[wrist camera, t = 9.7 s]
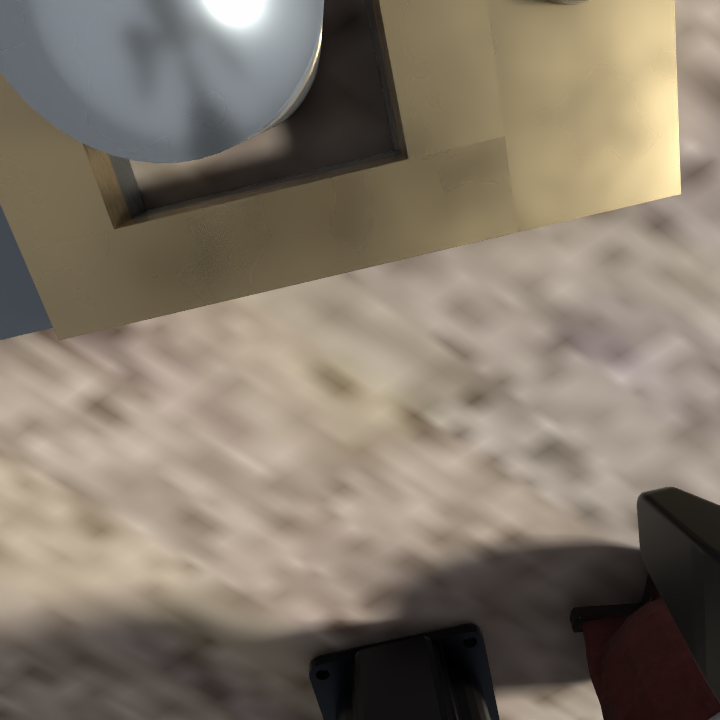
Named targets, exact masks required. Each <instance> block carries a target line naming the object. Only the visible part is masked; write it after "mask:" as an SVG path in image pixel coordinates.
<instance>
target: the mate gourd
mask: <svg viewBox="0 0 720 720" xmlns="http://www.w3.org/2000/svg"><path fill="white" fill-rule="evenodd" d="M570 621H571V623H572V628H573V631H574V632H583V633H584V638H585V644H586V652H587V660H588V666H589V671H590V677H591V680H592V683H593V685H594V688H595V691H596V694H597V696H598V699H599V702H600V705H601V709H602V714H603V718H604V720H720V702H719V701H718V699H717V697H716V696H715V694H714V693H713V691H712V690H711V688H710V686H709V685H708V683H707V681H706V680H705V678H704V676H703V674H702V672H701V671H700V669H699V667H698V665H697V663H696V662H695V660H694V658H693V656H692V654H691V652H690V650H689V648H688V646H687V644H686V642H685V641H684V639H683V637H682V635H681V633H680V631H679V629H678V627H677V625H676V623H675V622H674V620H673V618H672V616H671V614H670V612H669V610H668V608H667V606H666V604H665V602H664V601H663V599H662V597H661V595H660V593H659V591H658V589H657V587H656V585H655V583H654V582H653V580H652V578H651V576H650V574H649V573H648V578H647V583H646V588H645V592H644V596H643V600H642V601H640V602H639V603H637V604H626V605H608V606H589V607H578V608H574V609H573V610H572V611H571V618H570Z"/></svg>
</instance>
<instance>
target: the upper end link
mask: <svg viewBox="0 0 720 720" xmlns="http://www.w3.org/2000/svg"><path fill="white" fill-rule="evenodd" d="M371 1H372V6H373V12H374V17H375V22H376V27H377V33H378V38H379V43H380V48H381V54H382V59H383V64H384V69H385V75H386V80H387V85H388V90H389V96H390V101H391V106H392V111H393V116H394V122H395V127H396V132H397V137H398V143H399V148H400V153H401V155H397V156H393V157H388V158H384V159H380V160H376V161H372V162H368V163H363V164H359V165H355V166H351V167H347V168H342V169H338V170H334V171H330V172H326V173H322V174H317V175H313V176H309V177H305V178H301V179H296V180H292V181H288V182H284V183H280V184H276V185H271V186H267V187H263V188H259V189H255V190H250V191H246V192H242V193H238V194H234V195H230V196H225V197H221V198H217V199H213V200H209V201H204V202H200V203H196V204H192V205H188V206H184V207H179V208H175V209H171V210H167V211H163V212H158V213H154V214H150V215H146V216H142V217H138V218H133V219H131V217H130V214H129V211H128V208H127V205H126V203H125V200H124V197H123V194H122V191H121V188H120V186H119V183H118V180H117V177H116V174H115V172H114V169H113V166H112V163H111V160H110V158H109V155H108V153H105V152H102V151H100V150H97V149H94V148H92V147H89V146H88V145H86V144H84V143H82V142H80V141H78V140H76V139H74V138H72V137H70V136H69V135H67V134H66V133H64V132H63V131H61V130H60V129H58V128H57V127H55V126H54V125H52V124H51V123H49V122H48V121H47V120H46V119H44V118H43V117H42V116H41V115H40V114H39V113H37V112H36V111H35V110H34V109H33V108H32V107H30V106H29V105H28V104H27V103H26V101H25V100H24V99H23V98H22V97H21V96H20V95H19V94H18V93H17V92H16V91H15V90H14V89H13V88H12V87H11V85H10V84H9V83H8V81H7V80H6V79H5V77H4V76H3V75H2V73H1V72H0V205H1V207H2V209H3V212H4V214H5V216H6V219H7V221H8V223H9V226H10V228H11V230H12V233H13V235H14V237H15V240H16V242H17V244H18V247H19V249H20V251H21V254H22V256H23V258H24V261H25V263H26V265H27V268H28V270H29V272H30V275H31V277H32V279H33V282H34V284H35V286H36V289H37V291H38V293H39V296H40V298H41V300H42V303H43V305H44V307H45V310H46V312H47V314H48V317H49V319H50V321H51V324H52V326H53V328H54V331H55V333H56V335H57V338H58V340H62V339H66V338H70V337H74V336H79V335H83V334H87V333H91V332H96V331H100V330H104V329H108V328H113V327H117V326H121V325H125V324H130V323H134V322H138V321H142V320H147V319H151V318H155V317H159V316H164V315H168V314H172V313H176V312H181V311H185V310H189V309H193V308H198V307H202V306H206V305H210V304H215V303H219V302H223V301H227V300H232V299H236V298H240V297H244V296H249V295H253V294H257V293H261V292H266V291H270V290H274V289H278V288H283V287H287V286H291V285H296V284H300V283H304V282H308V281H313V280H317V279H321V278H325V277H330V276H334V275H338V274H342V273H347V272H351V271H355V270H359V269H364V268H368V267H372V266H376V265H381V264H385V263H389V262H393V261H398V260H402V259H406V258H410V257H415V256H419V255H423V254H427V253H432V252H436V251H440V250H444V249H449V248H453V247H457V246H461V245H466V244H470V243H474V242H478V241H483V240H487V239H491V238H495V237H500V236H504V235H508V234H512V233H517V232H521V231H525V230H529V229H534V228H538V227H542V226H546V225H551V224H555V223H559V222H563V221H568V220H572V219H576V218H581V217H585V216H589V215H593V214H598V213H602V212H606V211H610V210H615V209H619V208H623V207H627V206H632V205H636V204H640V203H644V202H649V201H653V200H657V199H661V198H666V197H670V196H674V195H678V194H681V185H680V155H679V125H678V96H677V66H676V36H675V7H674V0H371Z"/></svg>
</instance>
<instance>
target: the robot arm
mask: <svg viewBox="0 0 720 720" xmlns="http://www.w3.org/2000/svg"><path fill="white" fill-rule="evenodd" d="M637 515H638V528H639V542H640V550H641V555H642V558H643V561H644V564H645V566H646V568H647V570H648V572H649V574H650V576H651V578H652V580H653V582H654V583H655V585H656V587H657V589H658V591H659V593H660V595H661V597H662V599H663V601H664V602H665V604H666V606H667V608H668V610H669V612H670V614H671V616H672V618H673V620H674V622H675V623H676V625H677V627H678V629H679V631H680V633H681V635H682V637H683V639H684V641H685V642H686V644H687V646H688V648H689V650H690V652H691V654H692V656H693V658H694V660H695V662H696V663H697V665H698V667H699V669H700V671H701V672H702V674H703V676H704V678H705V680H706V681H707V683H708V685H709V686H710V688H711V690H712V691H713V693H714V694H715V696H716V697H717V699H718V701H719V702H720V505H717V504H715V503H712V502H710V501H707V500H705V499H703V498H700V497H698V496H695V495H693V494H690V493H688V492H685V491H683V490H680V489H678V488H675V487H665V488H660V489H656V490H652V491H647V492H643V493H641V494H640V495H639V497H638V500H637ZM468 637H472V638H471V639H466V638H468ZM319 670H326V671H319ZM309 676H310V680H311V683H312V686H313V689H314V692H315V695H316V698H317V701H318V704H319V707H320V709H321V712H322V715H323V718H324V720H499V715H498V710H497V705H496V700H495V695H494V690H493V684H492V679H491V674H490V669H489V664H488V659H487V654H486V649H485V644H484V639H483V636H482V633H481V630H480V628H479V627H478V626H477V625H475V624H463V625H458V626H454V627H449V628H445V629H440V630H436V631H431V632H426V633H422V634H417V635H413V636H408V637H404V638H399V639H395V640H390V641H386V642H381V643H377V644H372V645H368V646H363V647H358V648H354V649H349V650H345V651H340V652H336V653H331V654H327V655H322V656H319V657H316V658H314V659H313V660H312V661H311V663H310V665H309Z"/></svg>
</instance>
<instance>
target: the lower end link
mask: <svg viewBox="0 0 720 720" xmlns="http://www.w3.org/2000/svg"><path fill="white" fill-rule="evenodd" d="M365 3H366V8H367V14H368V19H369V24H370V29H371V34H372V39H373V45H374V50H375V55H376V60H377V65H378V70H379V75H380V81H381V86H382V91H383V96H384V101H385V106H386V112H387V117H388V122H389V127H390V132H391V137H392V142H393V148H394V151H391V152H387V153H383V154H378V155H374V156H370V157H366V158H362V159H358V160H353V161H349V162H345V163H341V164H337V165H332V166H328V167H324V168H320V169H316V170H312V171H307V172H303V173H299V174H295V175H291V176H286V177H282V178H278V179H274V180H270V181H266V182H261V183H257V184H253V185H249V186H245V187H241V188H236V189H232V190H228V191H224V192H220V193H215V194H211V195H207V196H203V197H199V198H195V199H190V200H186V201H182V202H178V203H174V204H169V205H165V206H161V207H157V208H153V209H149V210H146V209H145V206H144V203H143V200H142V197H141V194H140V191H139V189H138V186H137V183H136V180H135V177H134V174H133V171H132V168H131V165H130V162H129V160H128V159H126V158H122V157H117V156H113V155H110V154H108V155H109V158H110V160H111V163H112V166H113V169H114V172H115V174H116V177H117V180H118V183H119V186H120V188H121V191H122V194H123V197H124V200H125V203H126V205H127V208H128V211H129V214H130V217H131V219H133V218H138V217H142V216H146V215H150V214H154V213H158V212H163V211H167V210H171V209H175V208H179V207H184V206H188V205H192V204H196V203H200V202H204V201H209V200H213V199H217V198H221V197H225V196H230V195H234V194H238V193H242V192H246V191H250V190H255V189H259V188H263V187H267V186H271V185H276V184H280V183H284V182H288V181H292V180H296V179H301V178H305V177H309V176H313V175H317V174H322V173H326V172H330V171H334V170H338V169H342V168H347V167H351V166H355V165H359V164H363V163H368V162H372V161H376V160H380V159H384V158H388V157H393V156H397V155H401V153H400V148H399V143H398V137H397V132H396V127H395V122H394V116H393V111H392V106H391V101H390V96H389V90H388V85H387V80H386V75H385V69H384V64H383V59H382V54H381V48H380V43H379V38H378V33H377V27H376V22H375V17H374V12H373V6H372V1H371V0H365ZM49 328H53V326H52V324H51V321H50V319H49V317H48V314H47V312H46V310H45V307H44V305H43V303H42V300H41V298H40V296H39V293H38V291H37V289H36V286H35V284H34V282H33V279H32V277H31V275H30V272H29V270H28V268H27V265H26V263H25V261H24V258H23V256H22V254H21V251H20V249H19V247H18V244H17V242H16V240H15V237H14V235H13V233H12V230H11V228H10V226H9V223H8V221H7V219H6V216H5V214H4V212H3V209H2V207H1V205H0V340H2V339H6V338H11V337H15V336H19V335H23V334H28V333H32V332H36V331H40V330H45V329H49Z"/></svg>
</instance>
